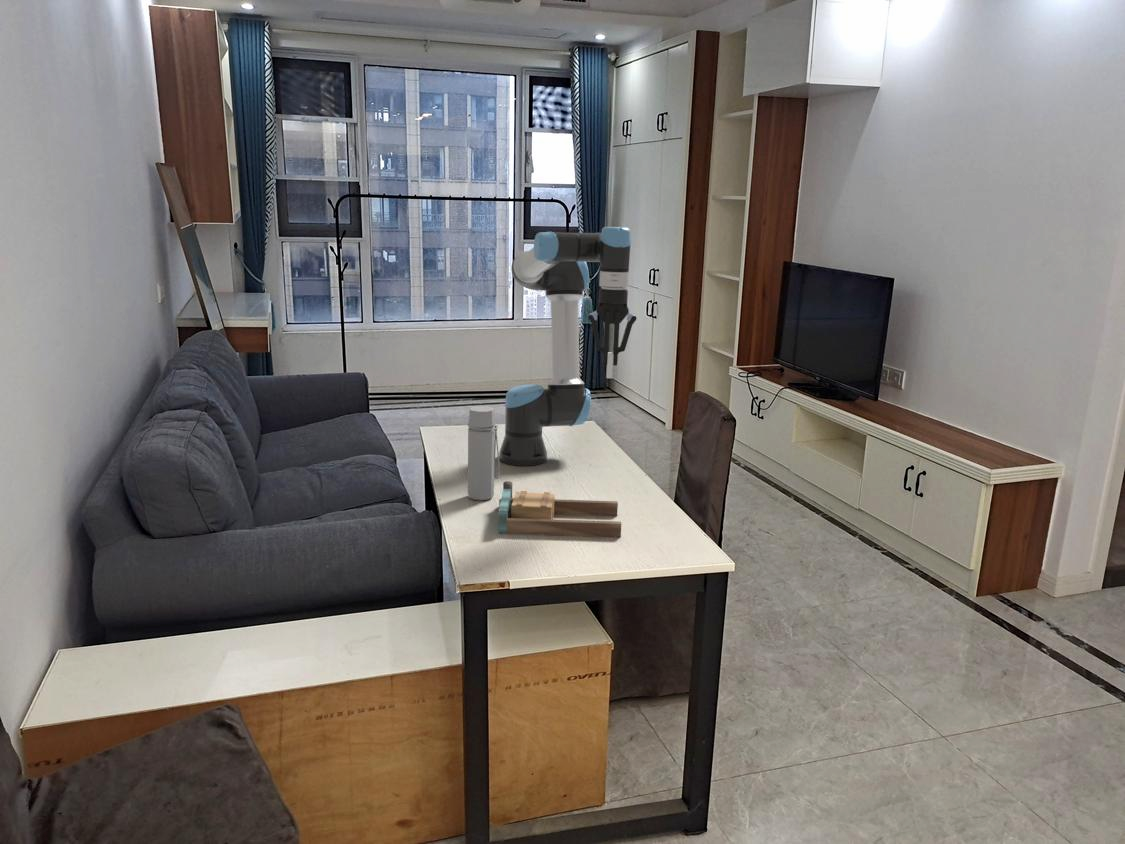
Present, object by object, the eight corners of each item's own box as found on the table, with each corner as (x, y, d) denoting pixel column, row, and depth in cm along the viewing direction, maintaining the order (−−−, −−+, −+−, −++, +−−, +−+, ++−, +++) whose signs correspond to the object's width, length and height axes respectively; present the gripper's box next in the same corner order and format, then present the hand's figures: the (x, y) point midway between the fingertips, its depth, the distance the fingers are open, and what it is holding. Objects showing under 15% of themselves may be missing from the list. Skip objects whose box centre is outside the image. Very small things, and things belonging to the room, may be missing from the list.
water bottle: (473, 503, 223) (474, 413, 217) (463, 494, 230) (463, 406, 224) (505, 499, 227) (506, 410, 221) (493, 490, 234) (494, 403, 228)
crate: (515, 513, 218) (516, 490, 216) (553, 516, 217) (554, 492, 215) (510, 528, 208) (511, 503, 206) (550, 530, 207) (551, 506, 206)
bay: (499, 504, 223) (500, 479, 221) (615, 508, 223) (617, 483, 222) (493, 533, 204) (493, 506, 202) (620, 537, 204) (622, 510, 202)
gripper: (588, 288, 212) (585, 379, 218) (639, 290, 212) (634, 380, 218) (587, 285, 219) (584, 373, 225) (637, 287, 219) (632, 375, 225)
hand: (609, 377), depth 221 cm, fingers closed
